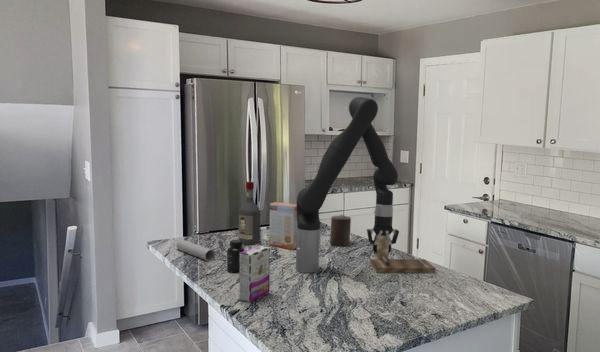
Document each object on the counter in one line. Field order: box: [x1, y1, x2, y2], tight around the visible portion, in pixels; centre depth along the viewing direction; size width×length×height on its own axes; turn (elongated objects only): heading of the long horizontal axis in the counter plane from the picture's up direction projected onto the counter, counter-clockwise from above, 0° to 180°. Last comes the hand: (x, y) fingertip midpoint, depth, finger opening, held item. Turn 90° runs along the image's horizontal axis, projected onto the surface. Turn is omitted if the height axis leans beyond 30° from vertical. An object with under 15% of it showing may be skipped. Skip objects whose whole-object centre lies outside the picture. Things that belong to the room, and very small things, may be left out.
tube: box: [176, 239, 216, 262], centre depth 206 cm, size 5×5×25 cm
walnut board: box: [370, 258, 436, 274], centre depth 194 cm, size 24×12×2 cm, turn 94°
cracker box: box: [268, 201, 297, 251], centre depth 222 cm, size 14×6×21 cm, turn 58°
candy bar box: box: [239, 245, 271, 303], centre depth 158 cm, size 11×5×16 cm, turn 148°
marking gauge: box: [374, 234, 390, 265], centre depth 196 cm, size 5×13×12 cm, turn 4°
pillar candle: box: [329, 215, 352, 248], centre depth 229 cm, size 10×10×15 cm
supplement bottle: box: [226, 239, 246, 274], centre depth 185 cm, size 7×7×12 cm
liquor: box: [238, 181, 261, 246], centre depth 227 cm, size 9×9×30 cm
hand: (381, 252), depth 201 cm, fingers closed on marking gauge, 5 cm apart
